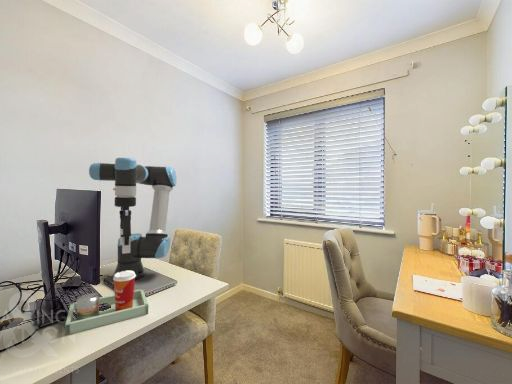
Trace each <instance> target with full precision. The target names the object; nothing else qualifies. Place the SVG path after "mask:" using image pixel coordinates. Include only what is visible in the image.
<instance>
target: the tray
mask: <svg viewBox="0 0 512 384" xmlns="http://www.w3.org/2000/svg"><path fill="white" fill-rule="evenodd" d="M103 303H108V304H110V305H111V308H109V309H107V310H104V311H99V316H95V317H90V318H86V319H82V320H78V321H77V318H76V319H73V312H74V309H77V301H76V302H72V303H70V306H69V309H68V313H67V317H66V321H65V324H64V330H65V331H64V333H65V336H67V335H71V334H72V335H73V334H76V333H79V332H83V331H84V332H85V331H87V330H91V329H95V328H98V327H103V326H106V325H110V324H115V323H118V322H122V321H126V320H129V319H132V318H138V317H141V316H142V317H143V316H144V315H148V314H149V302H148V300H147V297H146V294H145V290H144V288H142V289H136V290H135V289H134V295H133V306H132V308H128V309H124V310H120V311H116V308H115V294H110V295H106V296H102V297H101V296H100V297H99V304H103Z"/></svg>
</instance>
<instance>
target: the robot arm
mask: <svg viewBox="0 0 512 384" xmlns="http://www.w3.org/2000/svg"><path fill="white" fill-rule="evenodd" d="M114 162H115V163H104V162H94V163H92V164H90V165H89V168H88V174H89V177H90V178H91V179H92V180H94V181H103V182H104V181H109V182H110V181H111V182H112V181H114V187H113V188H112V190H113V191H114V196H115V197H114V207H117V208H120V210H119V219H120V222H119V223H120V224H119V226H120V227H119V228H120V229H119V230H120V231H119V238H118V240H117V265H116V267H115V270H114V273H113V276H114V275H115V274H116V273H118V272H122V271H127V270H130V271H134V272H135V274H136V277H135V279H136V280H139V279H140V277H141V278H143V277H144V276H143V275H145V267H144V265H143V263H142V259H164V258H166V256H167V255H168V253H169V250H170V248H171V247H170V246H171V238H170V237H169V236H168V235H169V234H168V232H167V231H166V228H167V219H168V218H167V217H168V210H169V203H170V193H171V191H173V189H174V187H176V186H177V183H178V182H177V174H176V170H175V168H173V167H171V166H155V165H154V166H151V165H150V166H149V165H145V166H144V165H141V164H137V160H136V159H135V158H130V157H116V158H115V161H114ZM137 184H139V185H145V186H151V188H152V190H153V191H154V192H153V200H152V206H151V216H150V221H149V222H150V223H149V229H148V231H146V233H145V236H143V235H142V233H132V228H131V227H132V224H131V223H132V222H131V220H132V210H130V208H131V207H135V206H136V205H137V197H136V196H137ZM142 276H143V277H142ZM138 278H139V279H138Z"/></svg>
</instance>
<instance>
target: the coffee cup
mask: <svg viewBox="0 0 512 384" xmlns="http://www.w3.org/2000/svg"><path fill="white" fill-rule="evenodd" d="M135 277H136V274H135V272H134V271H130V270H127V271H122V272H118V273H116V274H115V275H114V274H113V278H112V280H113V288H114V295H115V308H116V311H120V310H124V309H128V308H132V306H133V295H134V291H135Z"/></svg>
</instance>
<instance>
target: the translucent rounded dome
mask: <svg viewBox="0 0 512 384" xmlns="http://www.w3.org/2000/svg"><path fill="white" fill-rule="evenodd" d="M99 298H100V294H99V293H97V292H95V293H93V292H92V293H91V292H90V293H86V294H83V295H81V296H79V297H77V299H76V302H77V321H78V320H82V319H86V318H90V317H95V316H99Z"/></svg>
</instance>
